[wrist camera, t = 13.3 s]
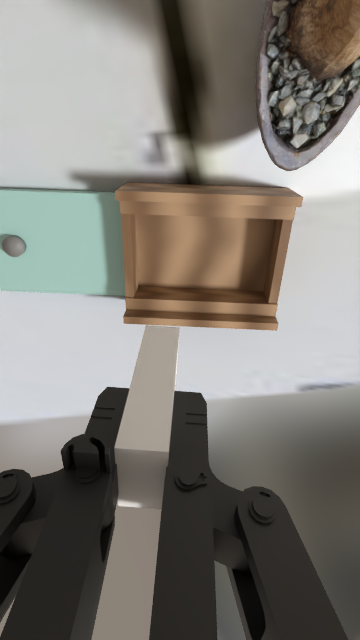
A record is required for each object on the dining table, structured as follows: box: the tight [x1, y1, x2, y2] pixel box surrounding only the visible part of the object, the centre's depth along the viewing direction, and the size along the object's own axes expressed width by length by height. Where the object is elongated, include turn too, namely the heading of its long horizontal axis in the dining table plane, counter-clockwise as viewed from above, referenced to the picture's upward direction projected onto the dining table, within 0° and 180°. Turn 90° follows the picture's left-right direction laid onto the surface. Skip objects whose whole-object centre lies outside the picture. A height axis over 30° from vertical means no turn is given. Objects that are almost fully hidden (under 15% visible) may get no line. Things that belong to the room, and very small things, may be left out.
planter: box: [256, 0, 360, 171], centre depth 22 cm, size 15×17×20 cm
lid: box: [0, 188, 126, 296], centre depth 41 cm, size 17×12×3 cm
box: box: [115, 182, 303, 330], centre depth 38 cm, size 18×15×6 cm
